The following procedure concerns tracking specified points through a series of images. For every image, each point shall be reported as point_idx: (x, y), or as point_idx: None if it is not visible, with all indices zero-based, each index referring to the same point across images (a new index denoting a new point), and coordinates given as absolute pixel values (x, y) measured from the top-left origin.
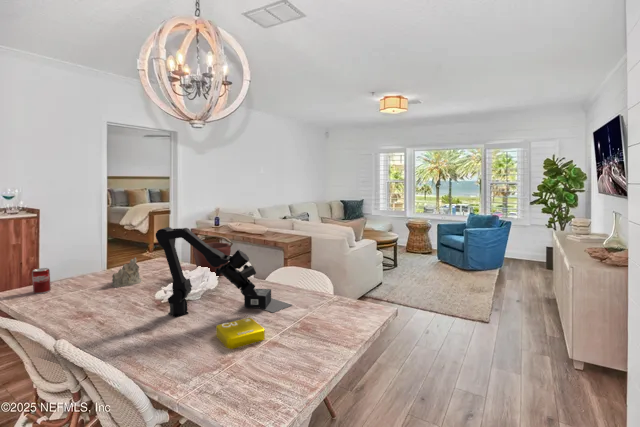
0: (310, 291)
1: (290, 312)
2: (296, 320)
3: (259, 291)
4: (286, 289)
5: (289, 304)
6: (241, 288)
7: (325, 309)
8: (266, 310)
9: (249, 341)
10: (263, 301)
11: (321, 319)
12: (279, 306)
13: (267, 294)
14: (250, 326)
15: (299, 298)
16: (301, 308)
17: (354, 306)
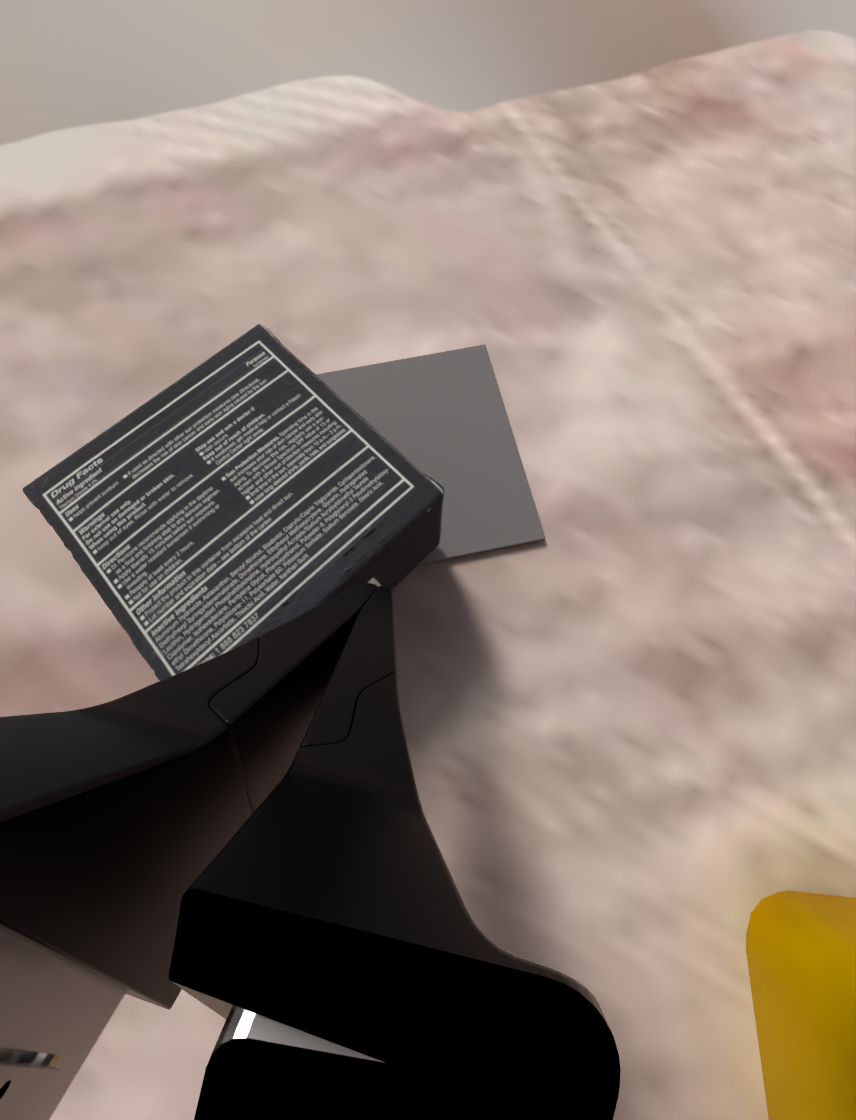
0: (328, 152)
1: (607, 428)
2: (784, 475)
3: (223, 464)
4: (174, 229)
5: (466, 356)
6: (80, 1063)
7: (676, 239)
8: (467, 554)
9: None
10: (425, 538)
11: (837, 340)
12: (457, 431)
13: (383, 437)
14: None
15: (393, 253)
16: (576, 334)
17: (712, 117)
